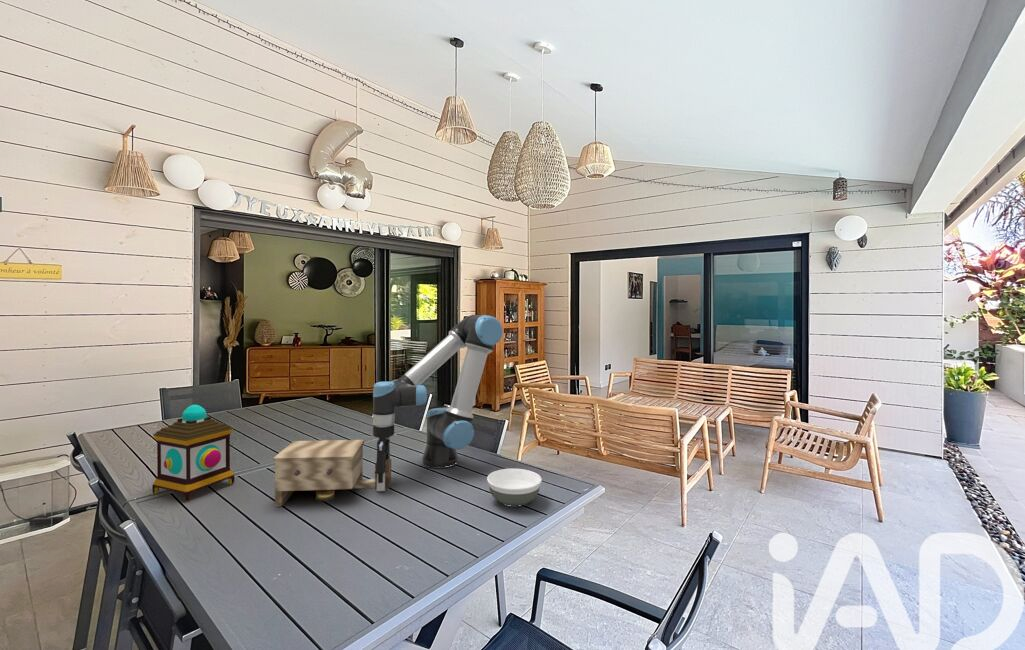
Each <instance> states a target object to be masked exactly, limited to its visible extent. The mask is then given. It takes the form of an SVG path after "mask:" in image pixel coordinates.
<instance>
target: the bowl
mask: <svg viewBox="0 0 1025 650" xmlns="http://www.w3.org/2000/svg"><path fill="white" fill-rule="evenodd" d="M486 479H487V482H488V489H489V492H490V494H491V495H492V497H493V498H494V499H495V500H497V502H499V503H501V504H502V503H503V504H502V505H504V504H506V505H511V506H519V505H523V506H525V505H526V504H528V503H530V502H532V501H533V500H535V498H536V497H537V496H538V493H539V492H540V487H541V484H542V482H543V478H542V477H541V475H540V474H538V473H537V472H534V471H532V470H529V469H524V468H502V469H499V470H495V471H492V472H490V473H489V474H488V476H487V477H486ZM524 504H525V505H524Z"/></svg>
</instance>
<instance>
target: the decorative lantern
mask: <svg viewBox="0 0 1025 650" xmlns="http://www.w3.org/2000/svg"><path fill="white" fill-rule="evenodd" d="M233 431H234V428H233V427H232V426H231V425H229V424H227V423H225V422H219V421H216V420H215V419H212V417H210V416H207V410H205V408H204V407H202V406H200V405H199V404H191V405H190V406H188V407H187V408H186V409H184V411H182V416H181V418H178V419H177V421H175V422H173V424H170V425H169V426H166V427H162V428H160V429H159V430H157V431H156V432H155V433H154V434H153V435H152V436H153V438H154V439H155V441H156V450H157V451H156V452H157V453H156V454H157V455H156V456H157V460H156V461H157V462H156V463H157V464H156V465H157V466H156V467H157V470H156V471H157V472H156V473H157V475H156V478H155V479H154V482H153V483H152V488H151V490H152V494H154V493H157V494H159V492H160V489H162V490H166V491H170V492H176V493H179V494H182V495H183V497H184V501H185V502H186V501H188V502H189V501H190V499H191V494H193V493H194V492H196V491H200V490H202V489H205V488H207V487H211V486H213V485H216V484H218V483H221V482H223V481H226V480H228V484H229V485H230V486H232V485H233V484H234V483H235V474H234V472H233V471H232V469H231V460H230V459H231V453H230V451H231V449H230V448H231V446H230V445H231V441H230V439H231V434H232V432H233Z"/></svg>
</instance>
